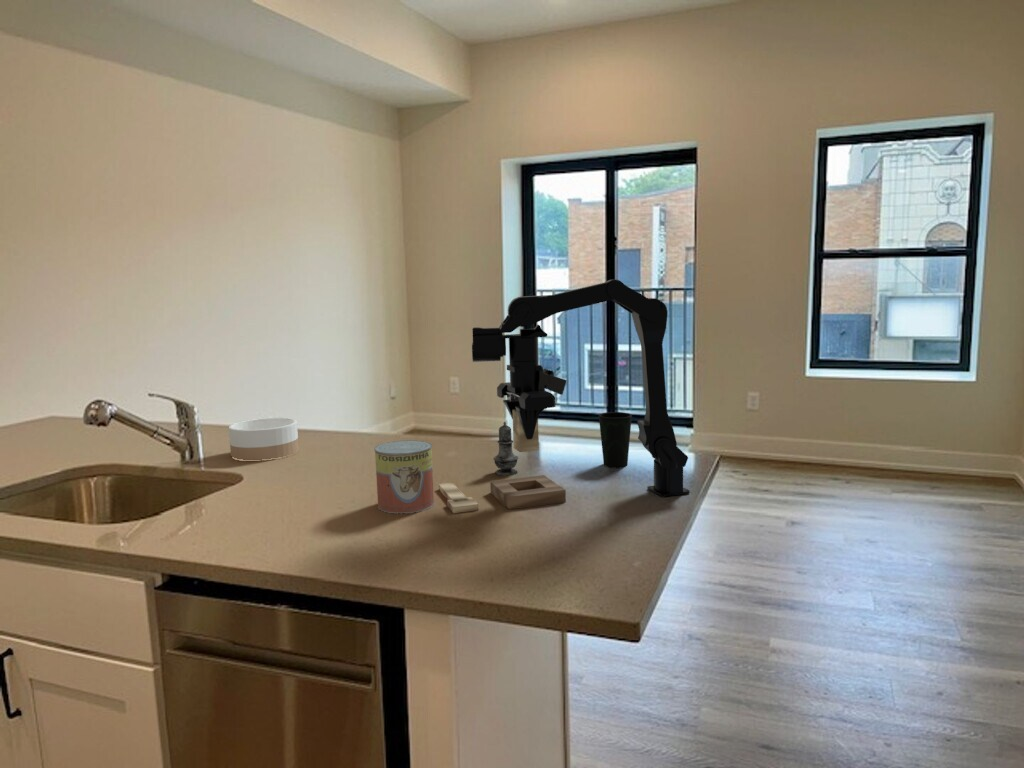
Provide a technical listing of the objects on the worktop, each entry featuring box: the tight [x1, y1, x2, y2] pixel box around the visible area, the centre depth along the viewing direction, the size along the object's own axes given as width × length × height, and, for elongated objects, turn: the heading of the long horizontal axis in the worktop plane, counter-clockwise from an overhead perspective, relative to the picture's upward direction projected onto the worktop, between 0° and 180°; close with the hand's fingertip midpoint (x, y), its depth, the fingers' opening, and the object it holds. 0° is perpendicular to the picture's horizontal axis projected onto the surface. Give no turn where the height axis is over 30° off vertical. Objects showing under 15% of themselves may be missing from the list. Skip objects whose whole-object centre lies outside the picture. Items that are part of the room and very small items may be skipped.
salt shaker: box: [492, 421, 519, 477], centre depth 166 cm, size 6×6×12 cm
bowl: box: [228, 417, 300, 460], centre depth 193 cm, size 17×17×8 cm
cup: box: [598, 411, 633, 468], centre depth 171 cm, size 8×8×12 cm
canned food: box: [374, 440, 435, 515], centre depth 144 cm, size 11×11×12 cm
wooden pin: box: [512, 409, 540, 453], centre depth 146 cm, size 4×4×8 cm
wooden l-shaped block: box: [438, 482, 479, 514], centre depth 148 cm, size 17×5×1 cm, turn 19°
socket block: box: [489, 474, 567, 510], centre depth 148 cm, size 12×12×2 cm
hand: (525, 436), depth 146 cm, fingers closed on wooden pin, 4 cm apart
